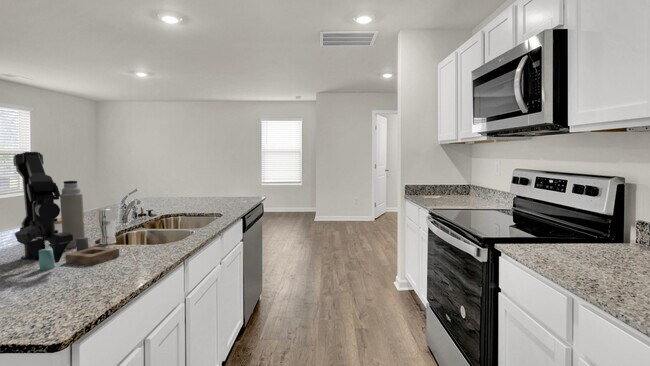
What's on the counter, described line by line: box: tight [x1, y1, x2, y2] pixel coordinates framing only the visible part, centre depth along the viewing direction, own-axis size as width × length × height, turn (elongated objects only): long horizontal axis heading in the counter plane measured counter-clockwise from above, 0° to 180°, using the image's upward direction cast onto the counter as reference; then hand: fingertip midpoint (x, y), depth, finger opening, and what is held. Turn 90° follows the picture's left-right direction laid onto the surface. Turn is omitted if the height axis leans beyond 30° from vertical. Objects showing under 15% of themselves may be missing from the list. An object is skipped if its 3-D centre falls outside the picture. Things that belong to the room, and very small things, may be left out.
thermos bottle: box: [59, 180, 86, 249], centre depth 162 cm, size 8×8×28 cm
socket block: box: [65, 246, 120, 266], centre depth 141 cm, size 12×12×3 cm
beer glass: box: [97, 207, 117, 245], centre depth 168 cm, size 7×7×15 cm
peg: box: [38, 247, 55, 271], centre depth 130 cm, size 4×4×6 cm
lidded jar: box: [54, 217, 62, 234], centre depth 183 cm, size 11×11×9 cm
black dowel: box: [75, 236, 90, 252], centre depth 150 cm, size 4×4×6 cm
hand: (46, 261), depth 130 cm, fingers open, 9 cm apart
